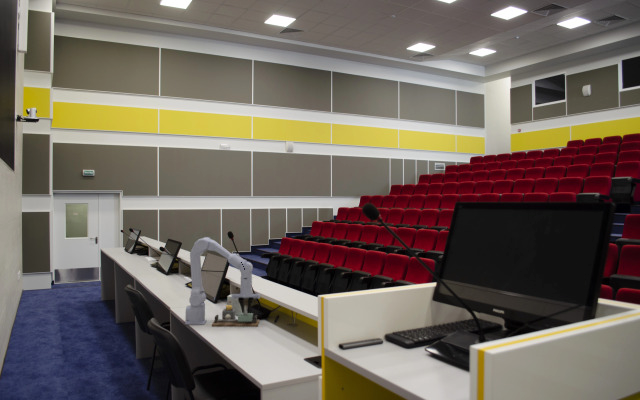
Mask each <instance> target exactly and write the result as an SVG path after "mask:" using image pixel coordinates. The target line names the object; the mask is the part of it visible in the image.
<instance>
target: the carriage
mask: <svg viewBox="0 0 640 400" xmlns="http://www.w3.org/2000/svg"><path fill="white" fill-rule="evenodd" d="M237 319H238V321H252V320H254V313H252V312H251V313H250V312H249V313H248V304H247V305H244V313H240V314H239V316H237Z"/></svg>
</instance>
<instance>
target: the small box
mask: <svg viewBox="0 0 640 400" xmlns="http://www.w3.org/2000/svg"><path fill="white" fill-rule="evenodd" d="M226 297H227V298H226V299H227V301H226V302H227V303H226V305H232V309H235V317H236V316H237V317H238V316H239V314H240V313H242V309H241V306H240V303H239V301H238V298H232V294H229V295H227V296H226Z"/></svg>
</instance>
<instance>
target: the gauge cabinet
mask: <svg viewBox="0 0 640 400" xmlns="http://www.w3.org/2000/svg"><path fill="white" fill-rule="evenodd" d="M221 314H222V316H221V317H222V319H236V315H235V309H232V310H226V308H223V309H222V312H221Z"/></svg>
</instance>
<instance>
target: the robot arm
mask: <svg viewBox="0 0 640 400" xmlns="http://www.w3.org/2000/svg"><path fill="white" fill-rule="evenodd" d="M206 251H215V252H216V253H218V254H219V255H221V256H222V257H224V258H226V259H227V263H229V264H230V265H232V266H233V267H235V268H236V269H237V270H239V272H240V293H232V294H231V295H232V298H238V301H239V303H240V306H241V309H242V313H244V306H245V305H244V304H245V299H247V306H248V313H250V310H251V309H250V308H251V306H252V303H253V301H254V299H258V300H259V299H260V300H261V293H252V292H253V291H252V290H253V289H252V288H253V277H252V276H253V272H252V271H253V268H254V267H253V266H254V265H253V264H252V263H251V262H250V261H247V259H244V258H242V257H241V256H240V254H239V253H231V252H230V251H229V250H228V249H226V248H225V247H223V246H222V245H221V244H219V242H217V241H216V240H214V239H211V237H208V236H204V237H202V238H199V239H197V240H196V241H195V242H194V244H193V246H192V248H191V250H190V252H189V260H190V275H191V290H190V297H189V301H188V302H189V304H190V305H186V308H185V318H184V319H185V323H184V325H205V323H206V322H207V319H206V317H205V316H206V303H205V301H206V300H207V294H206V293H205V288H204V286H203V277H202V276H203V275H202V261H201V258H202V256H201V255H203V254H204V253H205V252H206ZM241 262H242V263H241ZM242 264H243V265H242ZM243 266H244V267H243ZM244 268H245V270H244Z"/></svg>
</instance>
